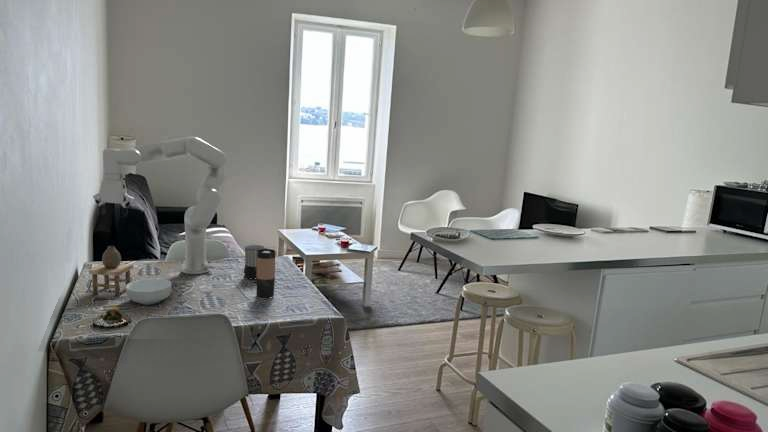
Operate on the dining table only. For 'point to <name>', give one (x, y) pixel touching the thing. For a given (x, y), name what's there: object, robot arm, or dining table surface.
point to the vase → (111, 258)
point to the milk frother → (251, 260)
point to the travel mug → (265, 273)
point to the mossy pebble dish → (113, 317)
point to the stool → (106, 272)
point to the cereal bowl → (148, 290)
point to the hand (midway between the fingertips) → (113, 215)
